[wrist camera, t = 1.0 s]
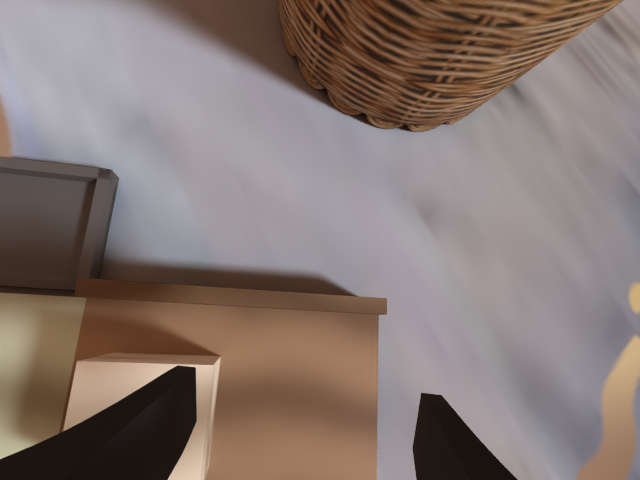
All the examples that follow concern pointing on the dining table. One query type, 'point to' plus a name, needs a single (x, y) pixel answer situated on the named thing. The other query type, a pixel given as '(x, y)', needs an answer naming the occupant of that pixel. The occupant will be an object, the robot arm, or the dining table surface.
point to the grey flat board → (53, 222)
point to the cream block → (133, 373)
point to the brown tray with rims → (234, 374)
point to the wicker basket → (425, 51)
